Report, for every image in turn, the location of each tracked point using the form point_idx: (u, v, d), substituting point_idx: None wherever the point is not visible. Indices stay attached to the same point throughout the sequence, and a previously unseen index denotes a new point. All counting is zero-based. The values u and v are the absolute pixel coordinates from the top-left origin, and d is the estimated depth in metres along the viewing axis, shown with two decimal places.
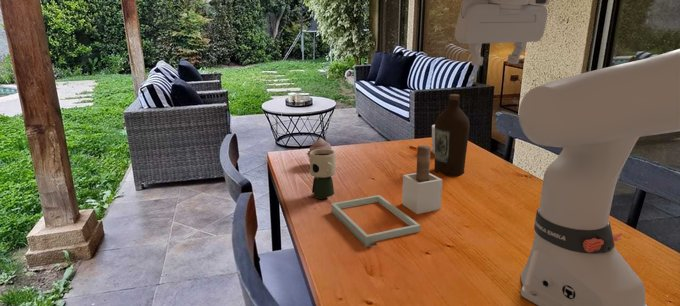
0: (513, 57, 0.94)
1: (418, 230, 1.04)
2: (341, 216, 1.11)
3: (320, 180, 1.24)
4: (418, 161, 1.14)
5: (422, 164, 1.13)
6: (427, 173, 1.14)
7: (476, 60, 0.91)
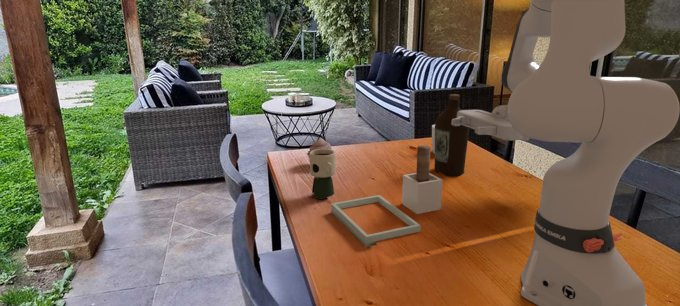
0: None
1: (418, 230, 1.04)
2: (341, 216, 1.11)
3: (320, 180, 1.24)
4: (418, 161, 1.14)
5: (422, 164, 1.13)
6: (427, 173, 1.14)
7: None
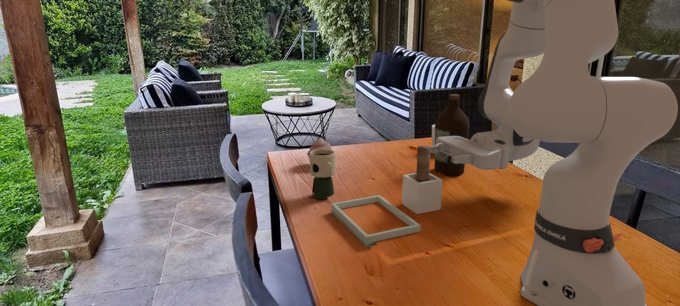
0: None
1: (418, 230, 1.04)
2: (341, 216, 1.11)
3: (320, 180, 1.24)
4: (418, 161, 1.14)
5: (422, 164, 1.13)
6: (427, 173, 1.14)
7: None
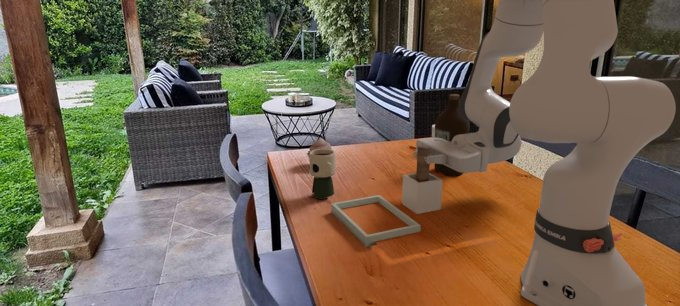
0: None
1: (418, 230, 1.04)
2: (341, 216, 1.11)
3: (320, 180, 1.24)
4: (418, 161, 1.14)
5: (422, 164, 1.13)
6: (427, 173, 1.14)
7: None
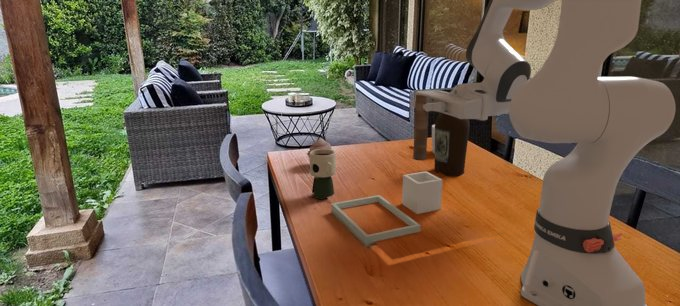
0: None
1: (418, 230, 1.04)
2: (341, 216, 1.11)
3: (320, 180, 1.24)
4: (416, 109, 1.09)
5: (421, 112, 1.08)
6: (426, 122, 1.09)
7: None
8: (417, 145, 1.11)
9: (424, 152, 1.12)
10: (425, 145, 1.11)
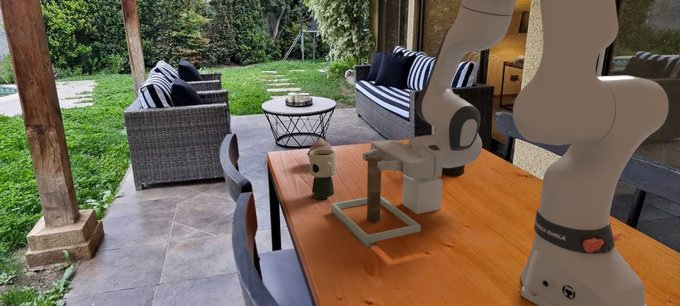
0: None
1: (418, 230, 1.04)
2: (341, 216, 1.11)
3: (320, 180, 1.24)
4: (368, 173, 1.06)
5: (373, 175, 1.05)
6: (378, 185, 1.07)
7: None
8: (370, 208, 1.08)
9: (377, 215, 1.09)
10: (378, 208, 1.08)
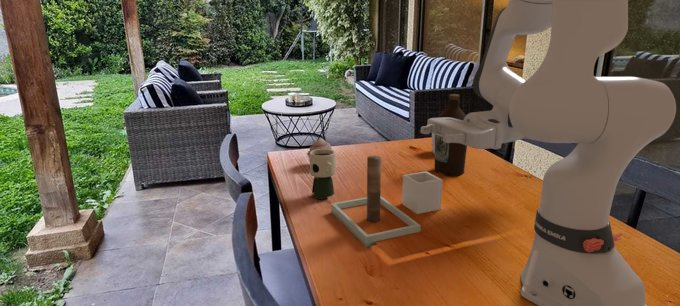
0: None
1: (418, 230, 1.04)
2: (341, 216, 1.11)
3: (320, 180, 1.24)
4: (368, 172, 1.06)
5: (372, 175, 1.06)
6: (378, 185, 1.07)
7: None
8: (370, 208, 1.08)
9: (377, 215, 1.09)
10: (378, 208, 1.08)
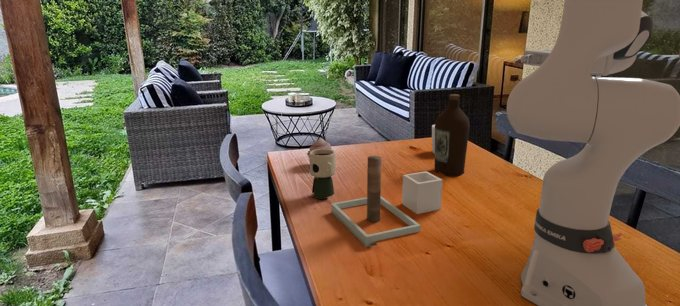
0: None
1: (418, 230, 1.04)
2: (341, 216, 1.11)
3: (320, 180, 1.24)
4: (368, 172, 1.06)
5: (373, 175, 1.06)
6: (378, 185, 1.07)
7: None
8: (370, 208, 1.08)
9: (377, 215, 1.09)
10: (378, 208, 1.08)
